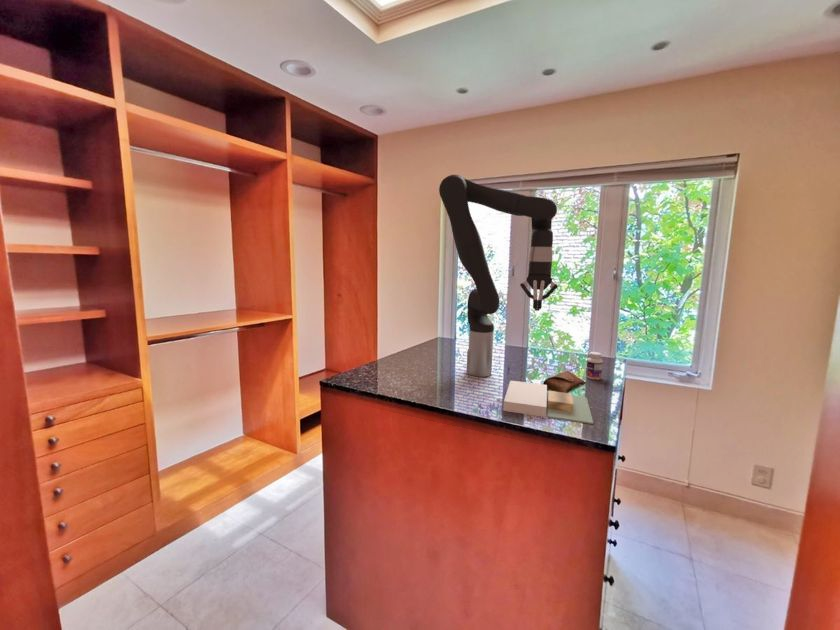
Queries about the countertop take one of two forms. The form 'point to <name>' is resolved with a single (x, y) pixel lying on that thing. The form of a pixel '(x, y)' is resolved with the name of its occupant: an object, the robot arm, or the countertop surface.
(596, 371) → the pill bottle
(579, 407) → the mat
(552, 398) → the birch tile
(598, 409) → the countertop surface
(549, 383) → the sunglasses case
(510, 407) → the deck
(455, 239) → the robot arm
